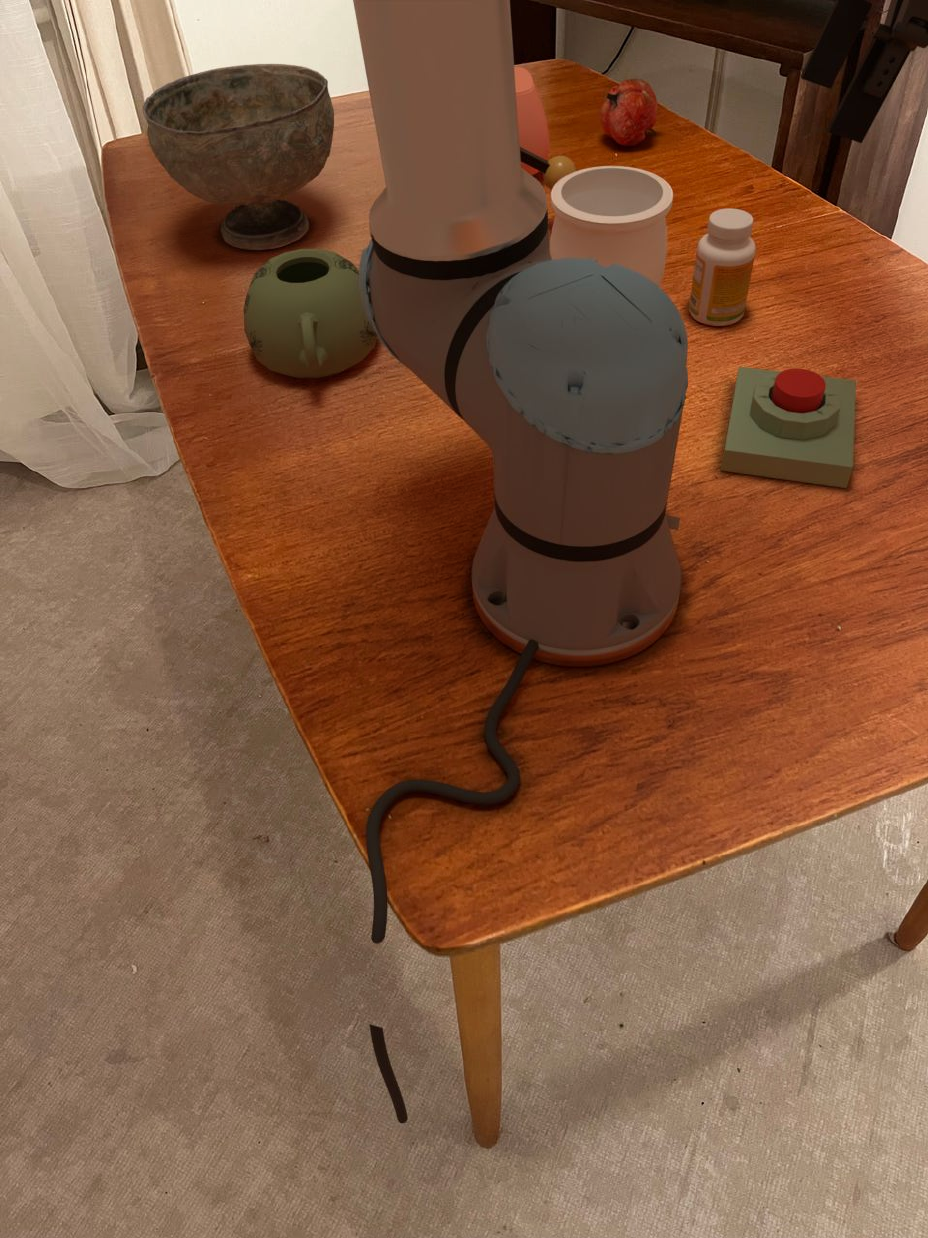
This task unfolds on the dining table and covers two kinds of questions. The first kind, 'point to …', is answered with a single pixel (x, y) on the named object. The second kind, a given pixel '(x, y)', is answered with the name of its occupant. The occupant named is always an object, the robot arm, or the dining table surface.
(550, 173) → the lock lever
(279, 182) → the bowl
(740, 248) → the supplement bottle
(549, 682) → the dining table surface
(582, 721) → the dining table surface
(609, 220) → the jar
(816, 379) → the button
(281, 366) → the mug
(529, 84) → the teapot
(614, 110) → the pomegranate
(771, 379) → the button box
